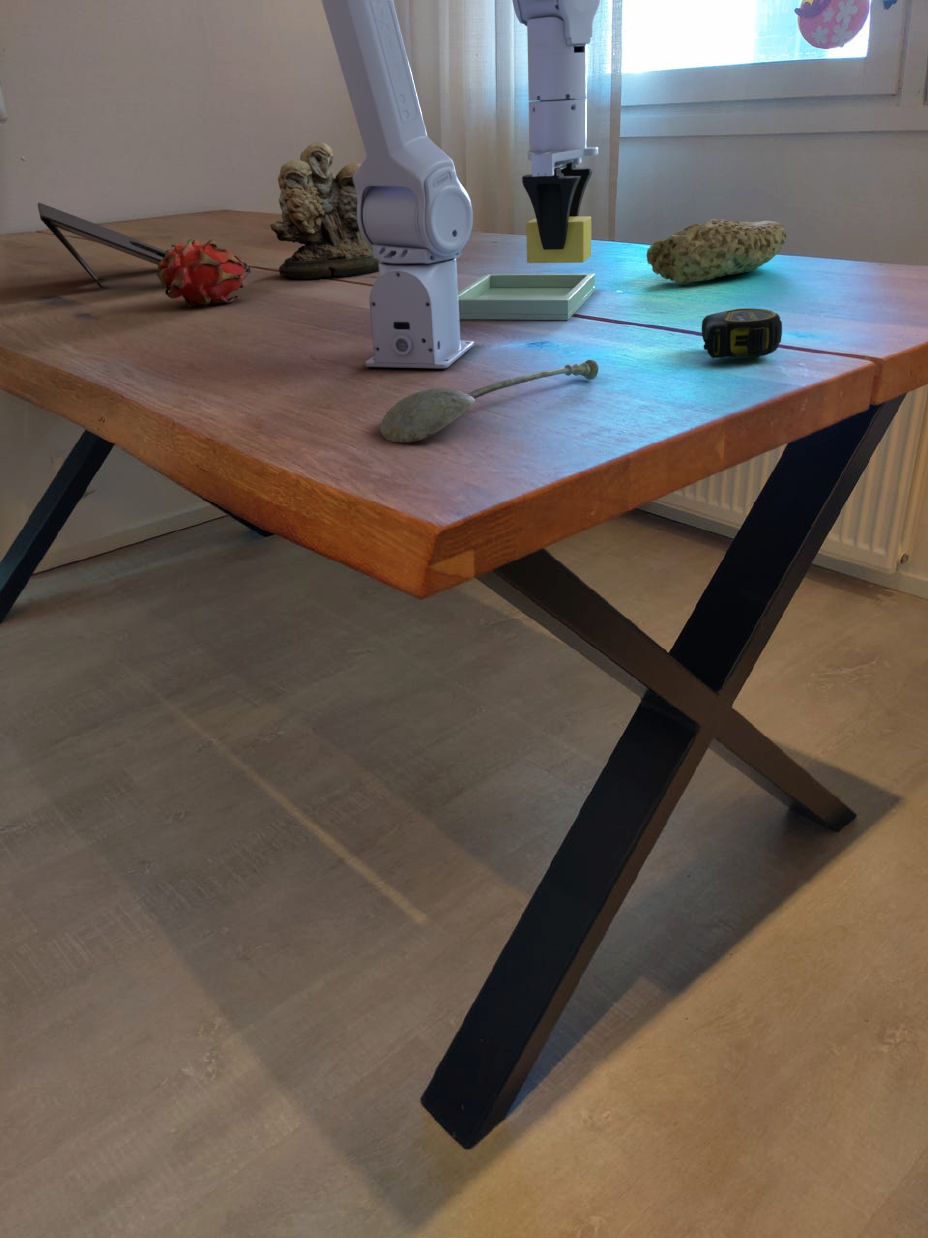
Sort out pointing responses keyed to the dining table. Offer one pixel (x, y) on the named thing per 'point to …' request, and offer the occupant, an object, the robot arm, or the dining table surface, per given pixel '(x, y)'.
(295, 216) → the owl figurine
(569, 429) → the dining table surface
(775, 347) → the tape measure
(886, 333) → the dining table surface
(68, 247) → the laptop tray
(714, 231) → the sponge
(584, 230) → the yellow block
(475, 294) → the tray
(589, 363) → the soupspoon
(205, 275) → the dragon fruit
